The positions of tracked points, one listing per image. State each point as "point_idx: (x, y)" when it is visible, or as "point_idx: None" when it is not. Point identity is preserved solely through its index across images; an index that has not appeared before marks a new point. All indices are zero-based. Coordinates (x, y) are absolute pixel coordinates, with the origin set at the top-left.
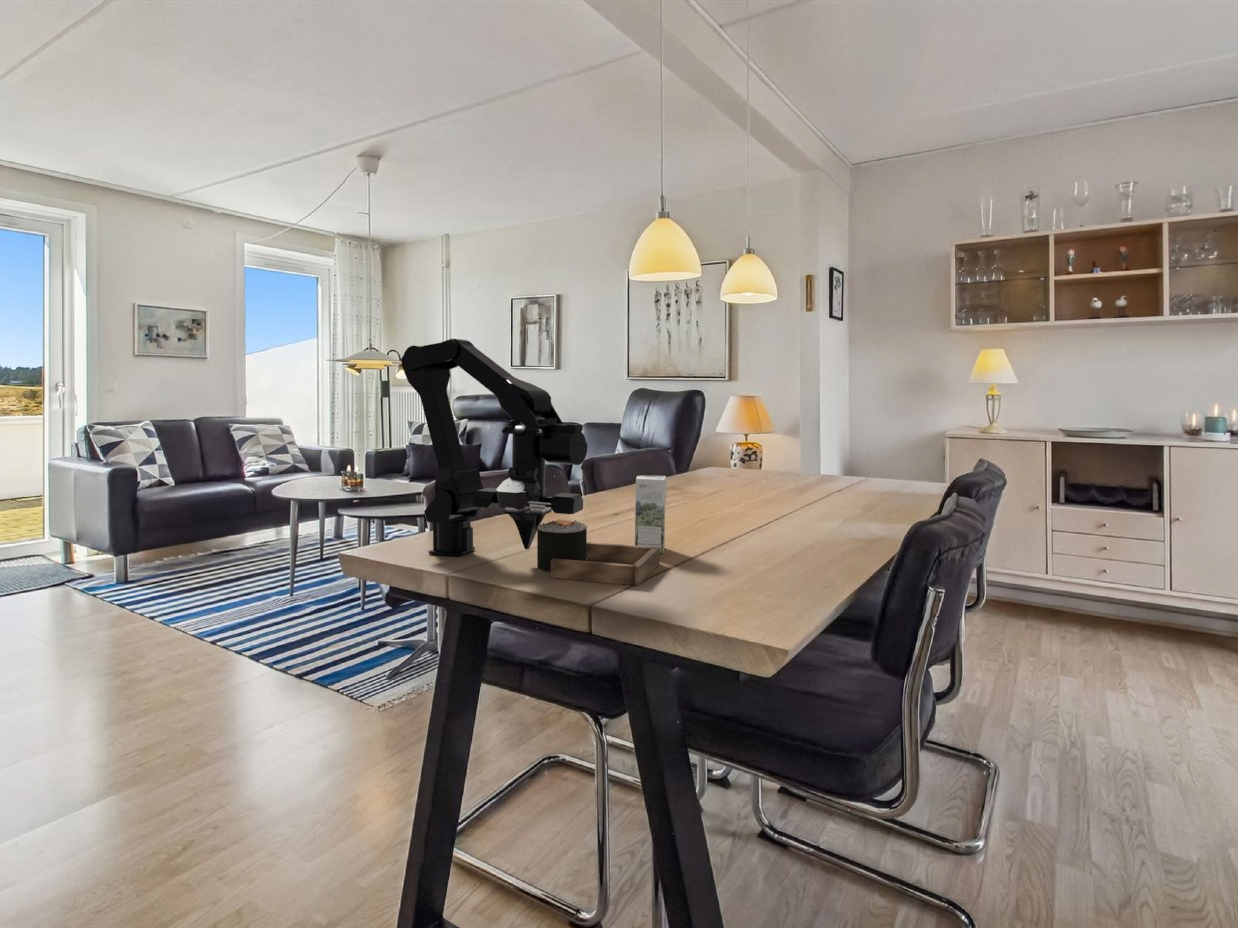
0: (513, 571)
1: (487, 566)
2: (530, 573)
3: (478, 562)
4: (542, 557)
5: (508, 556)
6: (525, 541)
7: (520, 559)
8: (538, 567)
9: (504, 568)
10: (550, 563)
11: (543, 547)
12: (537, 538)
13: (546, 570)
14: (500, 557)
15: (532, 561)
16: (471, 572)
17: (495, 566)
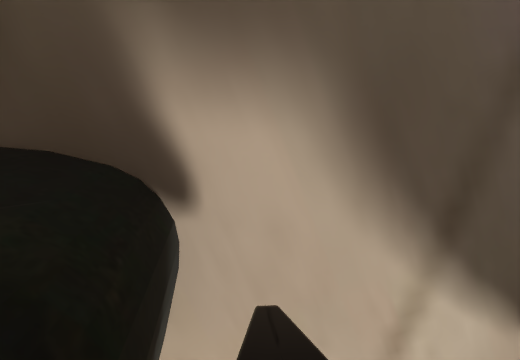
0: (264, 97)
1: (426, 158)
2: (151, 80)
3: (485, 216)
4: (82, 190)
5: (384, 353)
6: (276, 340)
7: (316, 327)
8: (151, 192)
9: (333, 145)
10: (22, 162)
11: (19, 217)
12: (116, 343)
13: (83, 159)
14: (413, 327)
15: (248, 315)
16: (475, 8)
17: (389, 170)
